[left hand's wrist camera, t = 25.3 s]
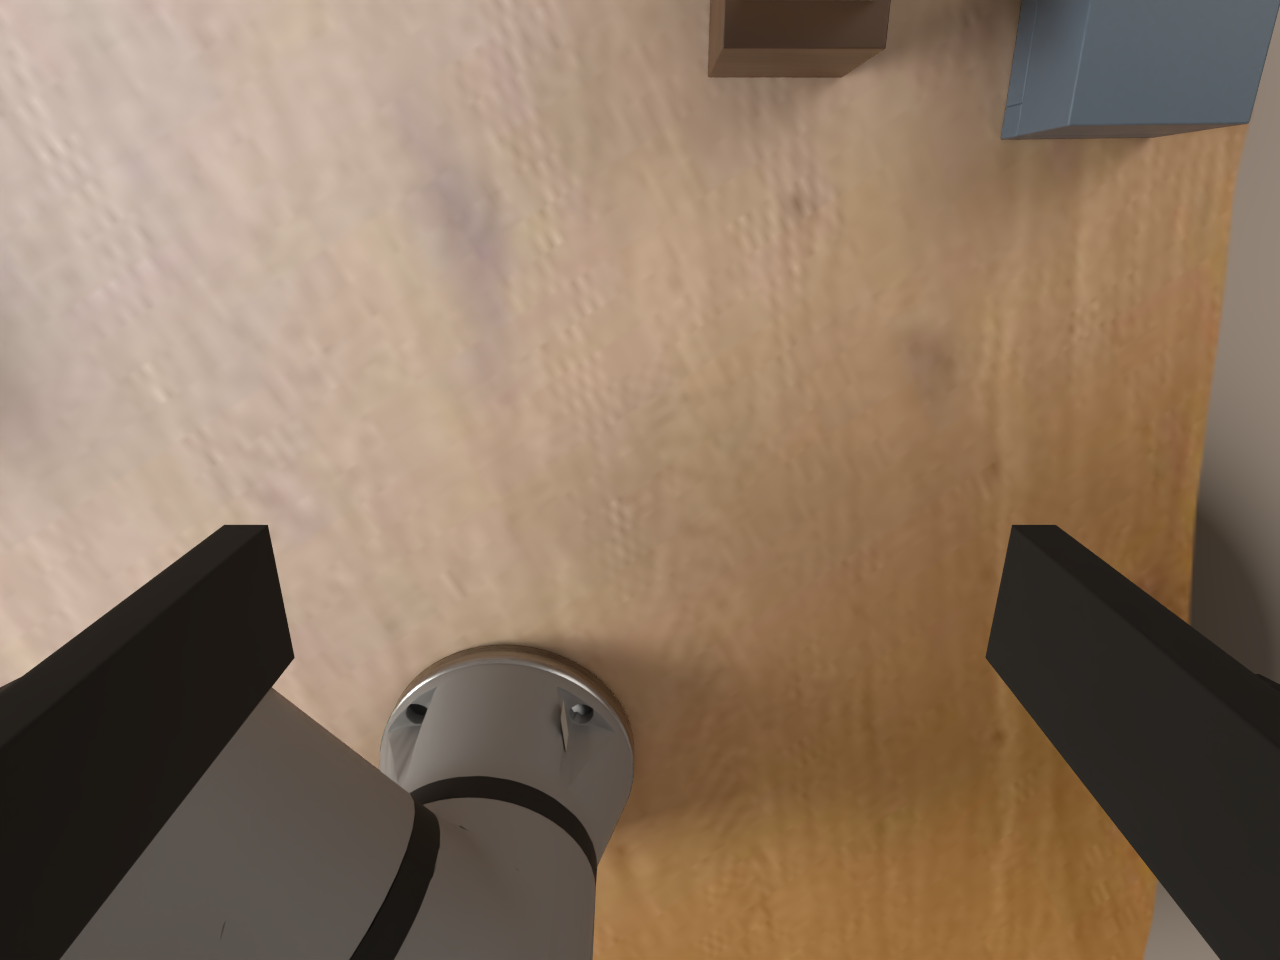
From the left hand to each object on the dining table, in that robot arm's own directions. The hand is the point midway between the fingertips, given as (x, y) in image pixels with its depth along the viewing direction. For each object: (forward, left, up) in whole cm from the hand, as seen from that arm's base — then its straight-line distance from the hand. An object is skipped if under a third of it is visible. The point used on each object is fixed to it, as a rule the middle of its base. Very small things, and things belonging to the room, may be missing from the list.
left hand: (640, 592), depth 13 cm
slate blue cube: (+13, -20, -25) cm, 34 cm away
